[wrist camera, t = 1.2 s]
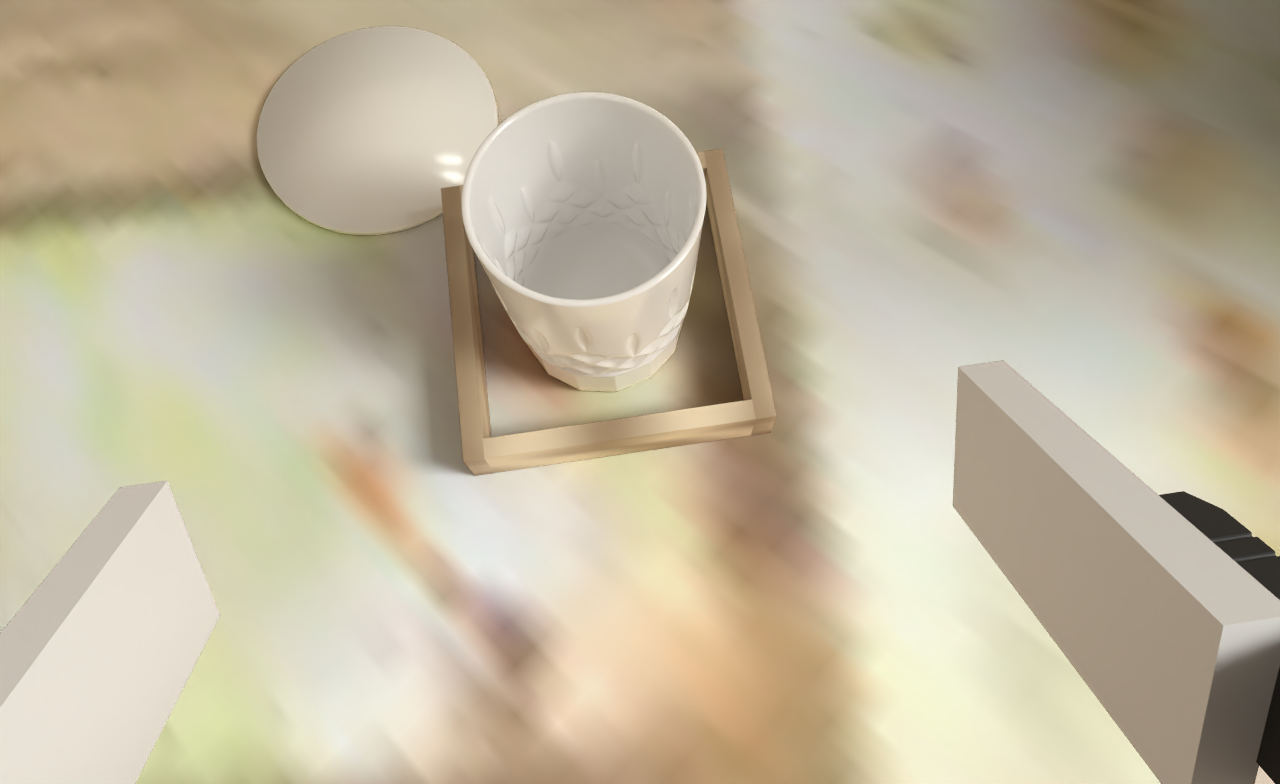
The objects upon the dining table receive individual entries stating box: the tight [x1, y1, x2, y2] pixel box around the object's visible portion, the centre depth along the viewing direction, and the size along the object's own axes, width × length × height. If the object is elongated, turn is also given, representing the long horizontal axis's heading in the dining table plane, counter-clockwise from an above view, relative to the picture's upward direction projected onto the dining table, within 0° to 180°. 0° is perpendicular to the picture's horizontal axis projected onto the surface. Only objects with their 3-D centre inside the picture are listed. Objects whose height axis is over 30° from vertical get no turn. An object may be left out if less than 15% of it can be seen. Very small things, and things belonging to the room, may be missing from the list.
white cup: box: [461, 92, 707, 392], centre depth 34 cm, size 8×8×10 cm
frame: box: [441, 149, 776, 476], centre depth 38 cm, size 12×12×2 cm
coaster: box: [257, 26, 498, 235], centre depth 42 cm, size 11×11×1 cm
